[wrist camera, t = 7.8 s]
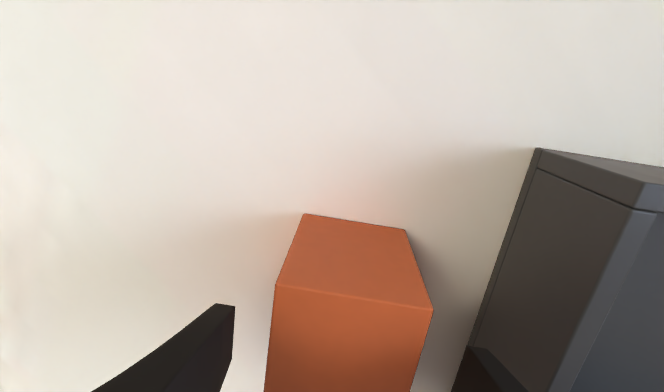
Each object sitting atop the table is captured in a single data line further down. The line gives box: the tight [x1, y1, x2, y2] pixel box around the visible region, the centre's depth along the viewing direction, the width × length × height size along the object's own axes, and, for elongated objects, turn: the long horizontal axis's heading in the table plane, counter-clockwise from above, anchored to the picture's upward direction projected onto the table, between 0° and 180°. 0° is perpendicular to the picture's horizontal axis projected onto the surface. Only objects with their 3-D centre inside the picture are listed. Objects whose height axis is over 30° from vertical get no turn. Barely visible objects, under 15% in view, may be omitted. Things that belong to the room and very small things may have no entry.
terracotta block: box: [264, 214, 434, 392], centre depth 12 cm, size 4×4×5 cm
